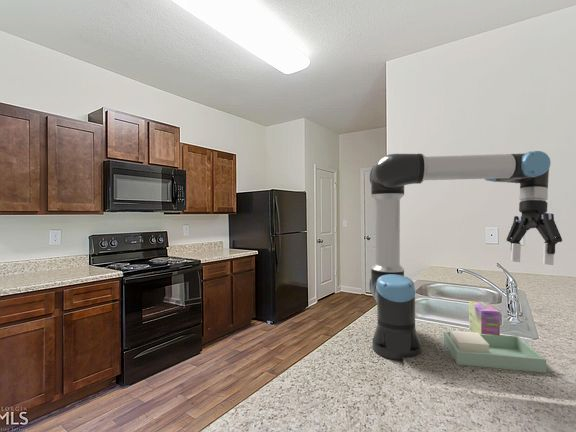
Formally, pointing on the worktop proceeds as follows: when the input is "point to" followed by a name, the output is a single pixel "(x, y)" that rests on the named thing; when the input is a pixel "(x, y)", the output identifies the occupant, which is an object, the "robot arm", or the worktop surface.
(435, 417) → the worktop surface
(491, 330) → the box
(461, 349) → the carton
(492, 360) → the tote
